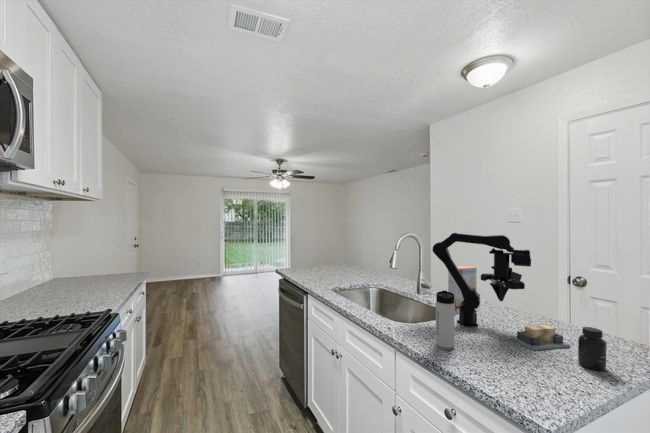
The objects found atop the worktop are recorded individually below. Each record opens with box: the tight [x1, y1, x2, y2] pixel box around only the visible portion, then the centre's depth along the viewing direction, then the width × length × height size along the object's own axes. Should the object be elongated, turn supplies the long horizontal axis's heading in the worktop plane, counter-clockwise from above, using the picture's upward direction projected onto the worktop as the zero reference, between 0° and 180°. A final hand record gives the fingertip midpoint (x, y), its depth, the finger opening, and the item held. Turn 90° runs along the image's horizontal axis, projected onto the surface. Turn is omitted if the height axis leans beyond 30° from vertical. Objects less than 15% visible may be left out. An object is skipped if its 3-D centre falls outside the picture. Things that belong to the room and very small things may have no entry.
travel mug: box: [435, 290, 455, 351], centre depth 110 cm, size 6×7×20 cm
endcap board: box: [510, 330, 571, 351], centre depth 114 cm, size 16×10×4 cm, turn 101°
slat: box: [524, 324, 556, 343], centre depth 114 cm, size 10×4×5 cm, turn 100°
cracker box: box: [447, 265, 478, 309], centre depth 162 cm, size 14×6×21 cm, turn 106°
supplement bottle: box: [577, 326, 608, 372], centre depth 97 cm, size 7×7×12 cm
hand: (501, 301), depth 128 cm, fingers closed
